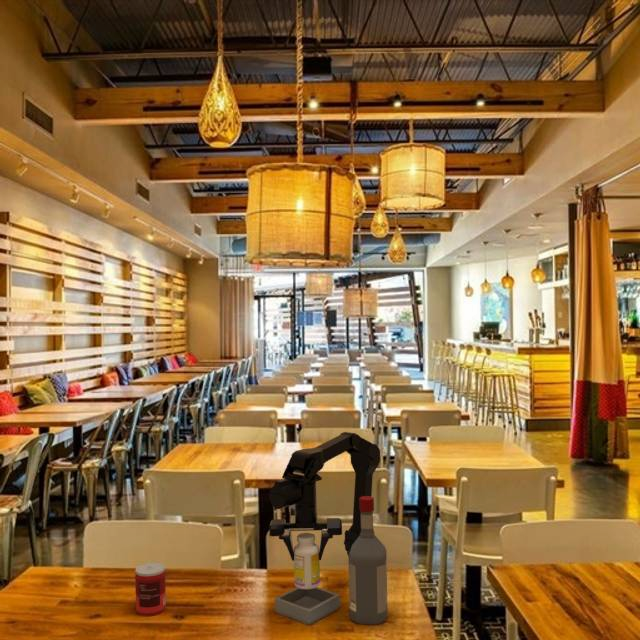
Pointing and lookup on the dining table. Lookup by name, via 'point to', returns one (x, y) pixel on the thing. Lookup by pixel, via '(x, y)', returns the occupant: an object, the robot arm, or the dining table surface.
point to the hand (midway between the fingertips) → (306, 560)
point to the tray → (307, 604)
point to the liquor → (367, 571)
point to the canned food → (150, 589)
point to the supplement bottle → (306, 562)
